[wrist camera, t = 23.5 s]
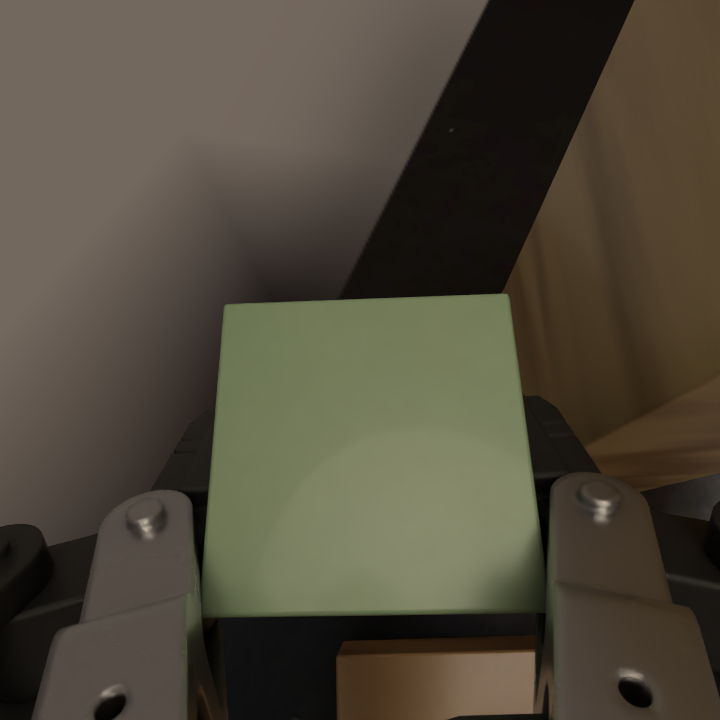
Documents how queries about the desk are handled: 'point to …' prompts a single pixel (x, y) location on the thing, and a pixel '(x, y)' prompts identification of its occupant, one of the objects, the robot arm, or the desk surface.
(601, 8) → the desk surface
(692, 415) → the stand
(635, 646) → the robot arm
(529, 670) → the lock plate
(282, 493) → the block
